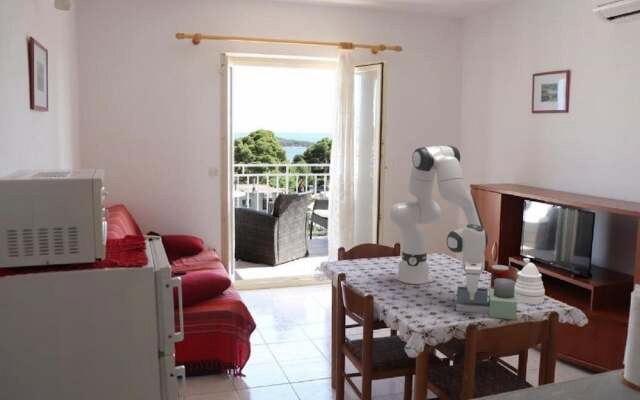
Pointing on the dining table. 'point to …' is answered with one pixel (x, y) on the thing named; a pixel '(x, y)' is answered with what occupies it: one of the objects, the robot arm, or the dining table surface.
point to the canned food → (498, 273)
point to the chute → (479, 296)
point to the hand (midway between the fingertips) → (472, 297)
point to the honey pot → (529, 285)
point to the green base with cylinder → (495, 301)
